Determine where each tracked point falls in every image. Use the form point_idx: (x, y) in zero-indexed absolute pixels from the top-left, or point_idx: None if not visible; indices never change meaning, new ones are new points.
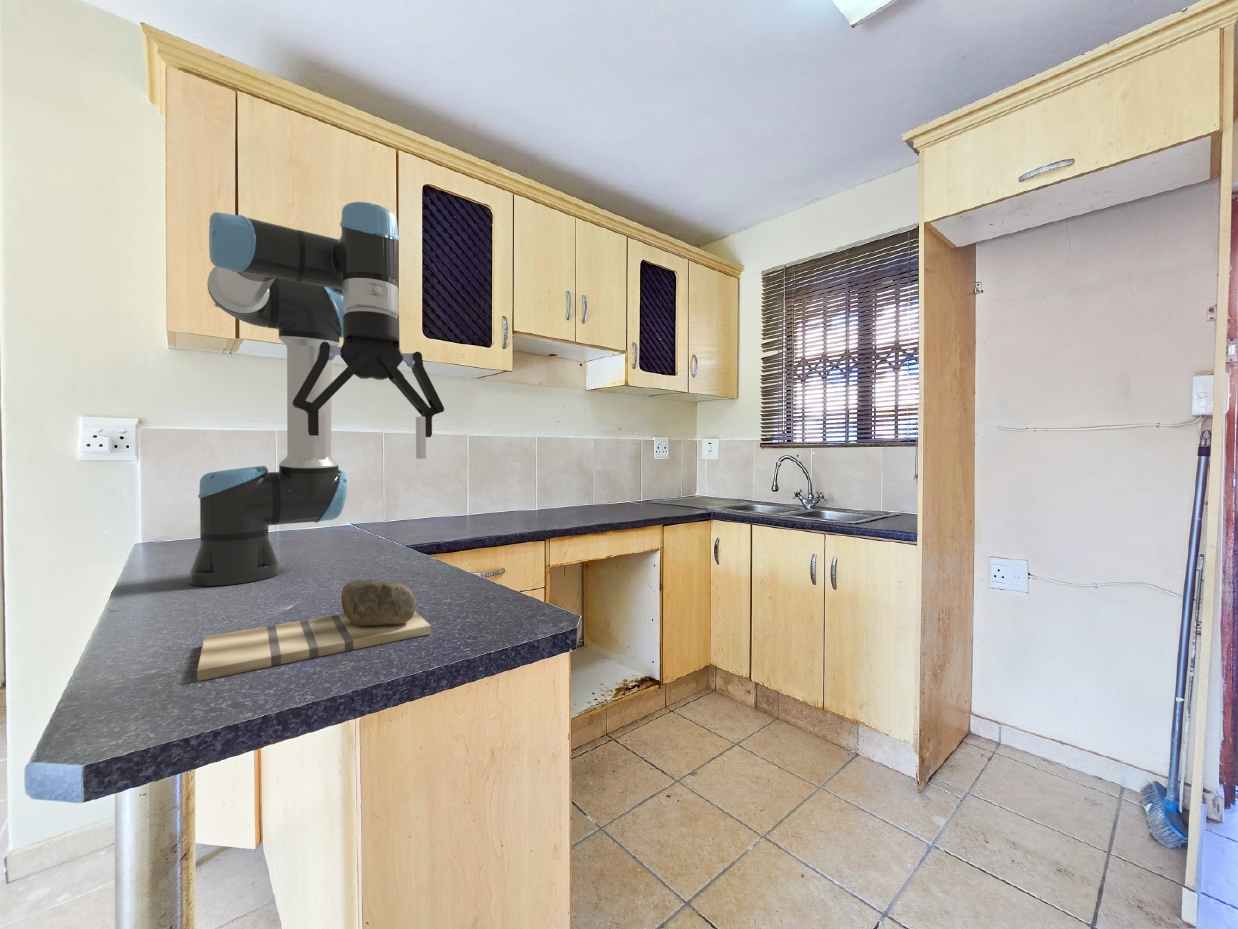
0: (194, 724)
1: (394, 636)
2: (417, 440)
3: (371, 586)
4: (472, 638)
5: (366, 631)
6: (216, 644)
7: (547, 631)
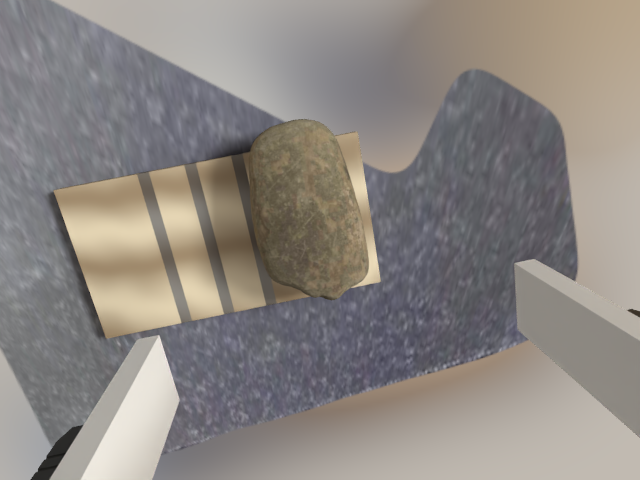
0: None
1: None
2: (564, 317)
3: (304, 291)
4: (425, 316)
5: None
6: (89, 241)
7: None
